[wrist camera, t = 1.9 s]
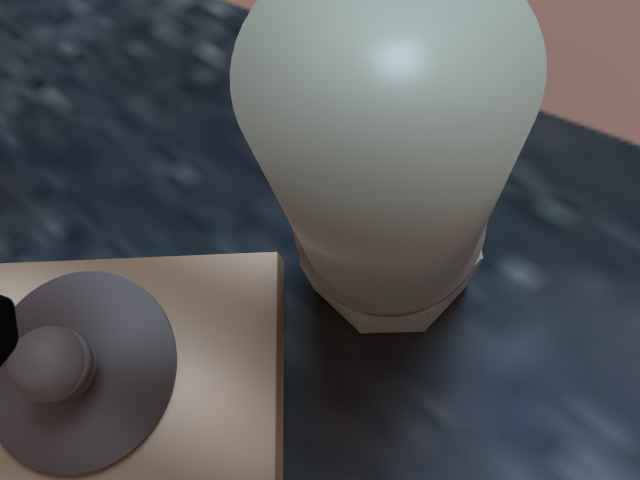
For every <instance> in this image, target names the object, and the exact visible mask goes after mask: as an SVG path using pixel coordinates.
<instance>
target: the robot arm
mask: <svg viewBox="0 0 640 480" xmlns="http://www.w3.org/2000/svg"><path fill="white" fill-rule="evenodd" d="M18 340H19V332H18V325H17V318H16V310H15V305H14V302H13V301H12V299H10V298H8V297H6V296H3V295H0V367H1V366H2V365H3V364H4V363H5V361H6V360H7V359H8V358H9V356H10V355H11V354H12V353H13V351H14V350H15V348H16V346H17V343H18Z"/></svg>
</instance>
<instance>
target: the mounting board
mask: <svg viewBox="0 0 640 480" xmlns="http://www.w3.org/2000/svg"><path fill="white" fill-rule="evenodd" d="M284 267H285V262H284V261H283V259H282V258H281V257H280V255H279V254H278V252H265V253H241V254H217V255H193V256H170V257H146V258H122V259H98V260H74V261H51V262H27V263H3V264H0V295H3V296H6V297H8V298H10V299H12V301H13V302H14V305H15V310H16V318H17V325H18V332H19V340H18V343H17V346H16V348H15V350H14V351H13V353H12V354H11V355H10V356H9V358H8V359H7V360H6V361H5V363H4V364H3V365H2V366H1V367H0V480H283V409H284Z"/></svg>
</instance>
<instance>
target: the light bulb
mask: <svg viewBox="0 0 640 480" xmlns="http://www.w3.org/2000/svg"><path fill="white" fill-rule="evenodd" d="M546 74H547V65H546V50H545V45H544V41H543V36H542V32H541V30H540V27H539V24H538V22H537V19H536V16H535V15H534V13H533V11H532V9H531V8H530V6H529V4H528V2H527V0H258V1H257V2H256V3H255V5H254V6H253V7H252V9H251V11H250V12H249V14H248V16H247V18H246V19H245V21H244V23H243V25H242V27H241V30H240V32H239V35H238V37H237V40H236V43H235V47H234V51H233V55H232V60H231V69H230V93H231V98H232V104H233V109H234V113H235V115H236V118H237V121H238V124H239V127H240V129H241V131H242V133H243V135H244V137H245V139H246V140H247V142H248V144H249V146H250V148H251V150H252V152H253V154H254V156H255V158H256V160H257V161H258V163H259V165H260V167H261V169H262V171H263V173H264V175H265V177H266V179H267V180H268V182H269V184H270V186H271V188H272V190H273V192H274V194H275V196H276V198H277V199H278V201H279V203H280V205H281V207H282V209H283V211H284V213H285V215H286V217H287V218H288V220H289V222H290V224H291V226H292V228H293V232H294V238H295V243H296V247H297V249H298V252H299V255H300V263H299V265H300V267H301V268H302V270H303V272H304V273H305V275H306V277H307V278H308V280H309V282H310V283H311V285H312V287H313V288H314V290H315V292H317V293H318V294H320V295H321V296H322V297H323V298H324V299H325V300H326V301H327V302H328V303H329V304H330V305H331V306H332V307H333V308H334V309H335V310H336V311H337V312H339V313H340V314H341V315H342V316H343V317H344V318H345V319H346V320H347V321H348V322H349V323H350V324H351V325H352V326H353V327H354V328H355V329H356V330H358V331H359V333H361V334H362V333H392V332H426V330H427V329H428V327H429V326H430V325H431V324H432V323H433V322H434V321H435V320H436V319H437V318H438V317H439V316H440V315H441V313H442V312H443V311H444V310H445V309H446V308H447V307H448V306H449V305H450V304H451V303H452V302H453V300H454V299H455V298H456V297H457V296H458V295H459V294H460V293H461V292H462V291H463V290H464V289H465V287H467V286H468V285H469V283H470V281H471V279H472V277H473V275H474V274H475V272H476V270H477V268H478V266H479V264H480V263H481V261H482V259H483V256H482V247H483V243H484V239H485V234H486V225H487V222H488V219H489V217H490V215H491V213H492V211H493V209H494V207H495V205H496V202H497V200H498V198H499V196H500V194H501V192H502V190H503V187H504V185H505V183H506V181H507V179H508V177H509V175H510V173H511V170H512V168H513V166H514V164H515V162H516V160H517V158H518V156H519V153H520V151H521V149H522V147H523V145H524V143H525V141H526V139H527V136H528V134H529V132H530V130H531V128H532V126H533V123H534V121H535V119H536V116H537V114H538V112H539V109H540V107H541V103H542V99H543V95H544V91H545V84H546Z"/></svg>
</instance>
